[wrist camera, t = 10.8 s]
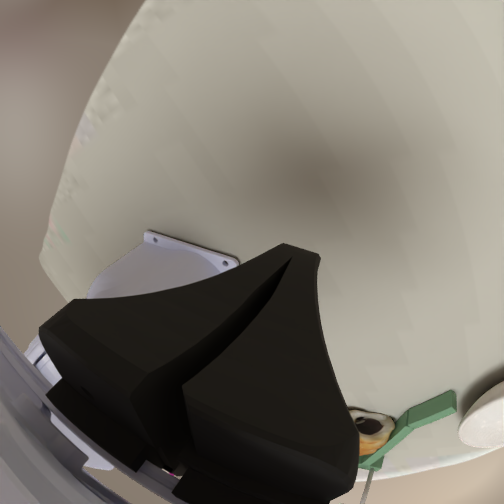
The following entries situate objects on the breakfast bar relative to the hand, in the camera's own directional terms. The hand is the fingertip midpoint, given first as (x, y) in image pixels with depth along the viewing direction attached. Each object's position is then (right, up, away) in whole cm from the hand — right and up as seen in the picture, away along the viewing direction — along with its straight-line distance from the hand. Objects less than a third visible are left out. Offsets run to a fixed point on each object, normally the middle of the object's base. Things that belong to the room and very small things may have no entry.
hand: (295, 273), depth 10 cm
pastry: (+11, -19, +18) cm, 28 cm away
